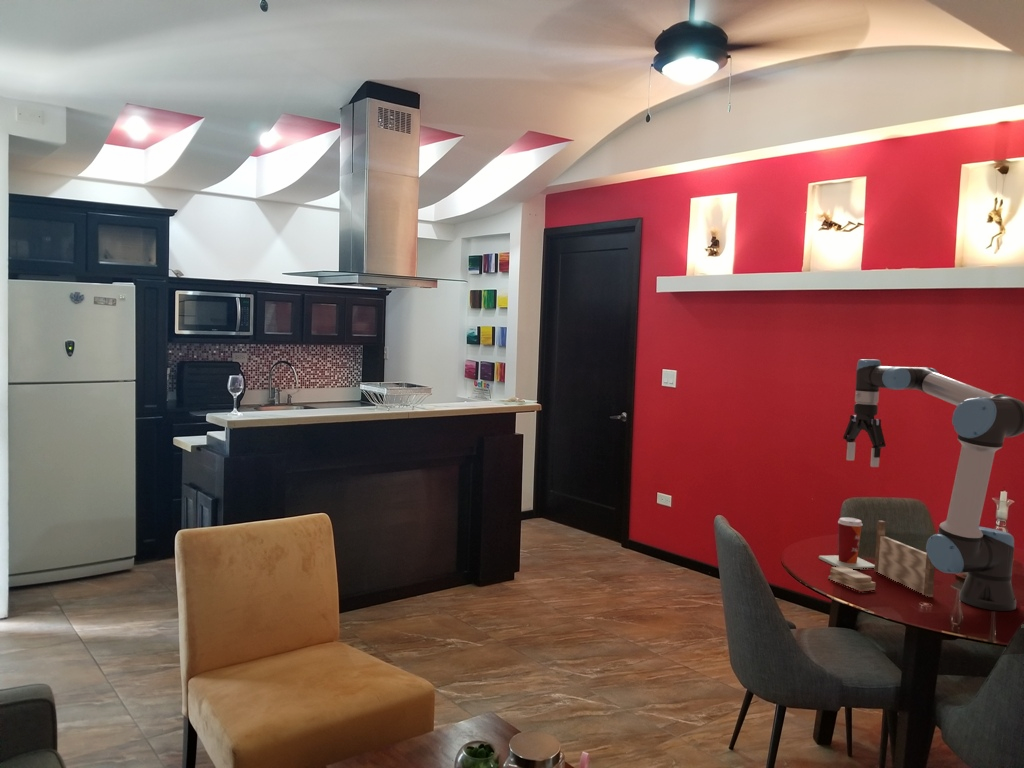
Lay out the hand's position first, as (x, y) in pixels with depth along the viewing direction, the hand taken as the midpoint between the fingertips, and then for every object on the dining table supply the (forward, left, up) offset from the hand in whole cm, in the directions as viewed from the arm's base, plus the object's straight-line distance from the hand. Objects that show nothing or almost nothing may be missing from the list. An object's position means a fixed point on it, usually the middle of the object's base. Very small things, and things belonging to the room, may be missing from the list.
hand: (862, 463), depth 278 cm
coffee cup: (+3, +1, -36) cm, 36 cm away
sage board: (+3, +1, -37) cm, 37 cm away
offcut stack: (-20, +15, -37) cm, 45 cm away
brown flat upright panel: (-20, -3, -37) cm, 42 cm away
